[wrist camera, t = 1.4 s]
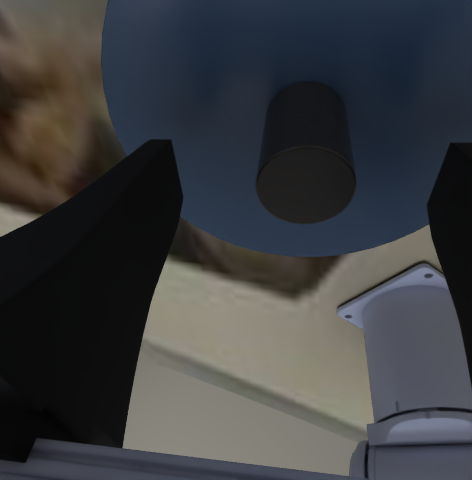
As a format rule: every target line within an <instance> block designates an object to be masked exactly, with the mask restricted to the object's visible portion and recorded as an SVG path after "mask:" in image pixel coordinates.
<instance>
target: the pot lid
mask: <svg viewBox="0 0 472 480" xmlns="http://www.w3.org/2000/svg"><path fill="white" fill-rule="evenodd" d="M101 65H102V76H103V86H104V93H105V97H106V101H107V106H108V110H109V114H110V117H111V120H112V123H113V126H114V128H115V131H116V134H117V137H118V139H119V141H120V143H121V145H122V147H123V149H124V151H125V153H126V155H127V156H128V155H130V154H131V153H132V152H133V151H135V150H136V149H137V148H139V147H140V146H141V145H143V144H144V143H145V142H147V141H148V140H150V139H171V140H172V144H173V149H174V154H175V159H176V164H177V168H178V173H179V178H180V183H181V188H182V192H183V197H184V198H183V203H182V208H181V213H180V216H181V217H182V218H184V219H185V220H187V221H188V222H190V223H191V224H193V225H194V226H196V227H197V228H199V229H201V230H203V231H205V232H207V233H209V234H211V235H212V236H214V237H216V238H219V239H221V240H224V241H226V242H229V243H231V244H234V245H237V246H240V247H243V248H247V249H250V250H254V251H258V252H263V253H268V254H274V255H283V256H293V257H319V256H333V255H340V254H347V253H353V252H357V251H362V250H366V249H370V248H374V247H377V246H380V245H383V244H386V243H389V242H392V241H395V240H397V239H399V238H402V237H404V236H406V235H408V234H411V233H413V232H415V231H417V230H419V229H421V228H423V227H424V226H426V225H428V224H429V218H428V211H427V203H428V200H429V198H430V195H431V192H432V190H433V187H434V184H435V182H436V179H437V176H438V174H439V171H440V168H441V166H442V163H443V161H444V158H445V155H446V153H447V150H448V147H449V145H450V142H454V143H472V0H108V3H107V9H106V15H105V20H104V26H103V32H102V54H101Z"/></svg>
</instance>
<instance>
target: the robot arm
mask: <svg viewBox="0 0 472 480" xmlns="http://www.w3.org/2000/svg"><path fill="white" fill-rule="evenodd" d="M183 198H184V197H183V192H182V188H181V183H180V178H179V173H178V168H177V164H176V159H175V154H174V149H173V144H172V140H171V139H150V140H148V141H147V142H145V143H144V144H143V145H141V146H140V147H139V148H137V149H136V150H135V151H133V152H132V153H131V154H130V155H128V156H127V157H126V158H125V159H123V160H122V161H121V162H120V163H118V164H117V165H116V166H114V167H113V168H112V169H111V170H109V171H108V172H107V173H105V174H104V175H103V176H102V177H100V178H99V179H97V180H96V181H95V182H93V183H92V184H90V185H89V186H88V187H86V188H85V189H83V190H82V191H81V192H79V193H78V194H76V195H75V196H74V197H72V198H71V199H69V200H67V201H66V202H64V203H63V204H61V205H60V206H58V207H56V208H55V209H53V210H51V211H49V212H48V213H46V214H44V215H43V216H41V217H39V218H37V219H36V220H34V221H32V222H30V223H28V224H26V225H24V226H22V227H20V228H18V229H16V230H14V231H12V232H10V233H8V234H6V235H4V236H1V237H0V480H472V143H454V142H450V145H449V147H448V150H447V153H446V155H445V158H444V161H443V163H442V166H441V168H440V171H439V174H438V176H437V179H436V182H435V184H434V187H433V190H432V192H431V195H430V198H429V200H428V203H427V211H428V218H429V225H430V231H431V236H432V240H433V243H434V246H435V249H436V253H437V256H438V259H439V262H440V265H441V268H442V271H443V274H444V275H443V274H441V273H440V272H439V271H437V270H436V269H434V268H433V267H432V266H430V265H428V264H424V263H423V264H419V265H417V266H415V267H413V268H411V269H409V270H408V271H406V272H404V273H402V274H400V275H398V276H397V277H395V278H393V279H391V280H389V281H387V282H385V283H384V284H382V285H380V286H378V287H376V288H374V289H372V290H371V291H369V292H367V293H365V294H363V295H361V296H359V297H358V298H356V299H354V300H352V301H350V302H348V303H346V304H345V305H343V306H341V307H339V308H338V309H337V315H338V316H340V317H342V318H343V319H345V320H347V321H349V322H350V323H352V324H354V325H356V326H357V327H359V328H361V329H363V330H364V338H365V347H366V355H367V364H368V373H369V381H370V390H371V399H372V407H373V416H374V424H367V433H368V440H363V441H360V442H359V443H358V445H357V447H356V449H355V451H354V452H353V454H352V457H351V460H350V469H349V476H341V475H334V474H325V473H318V472H309V471H302V470H294V469H286V468H277V467H269V466H261V465H252V464H245V463H237V462H228V461H220V460H212V459H203V458H196V457H188V456H180V455H172V454H163V453H155V452H146V451H139V450H131V449H123V448H122V447H123V440H124V434H125V427H126V421H127V415H128V409H129V403H130V397H131V392H132V386H133V381H134V376H135V371H136V366H137V361H138V356H139V351H140V347H141V342H142V338H143V333H144V329H145V325H146V321H147V316H148V312H149V308H150V304H151V301H152V297H153V294H154V291H155V288H156V285H157V282H158V280H159V277H160V274H161V271H162V269H163V266H164V263H165V261H166V258H167V255H168V252H169V250H170V247H171V244H172V241H173V238H174V236H175V233H176V230H177V227H178V222H179V218H180V213H181V208H182V203H183Z"/></svg>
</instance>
